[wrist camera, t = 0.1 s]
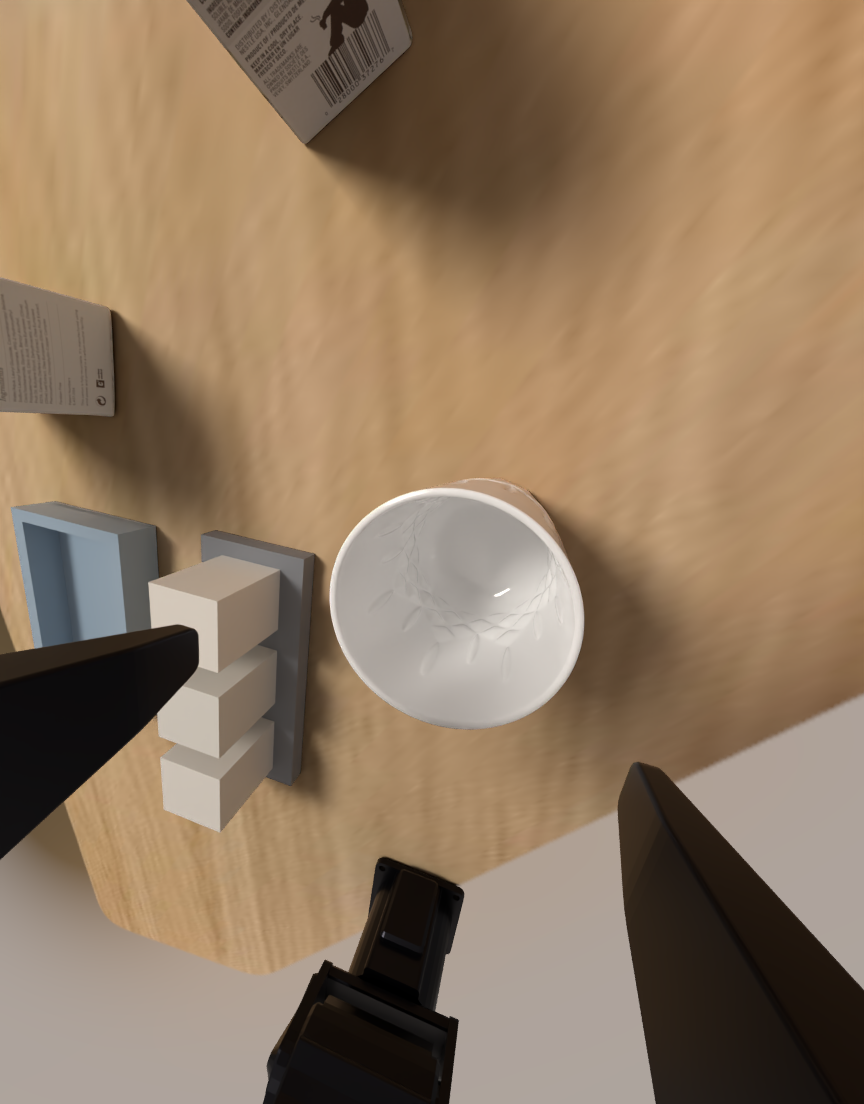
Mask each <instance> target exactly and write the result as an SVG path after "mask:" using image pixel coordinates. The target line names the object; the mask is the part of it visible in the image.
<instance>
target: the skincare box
mask: <svg viewBox="0 0 864 1104" xmlns="http://www.w3.org/2000/svg"><path fill="white" fill-rule="evenodd" d="M114 408H115V397H114V362H113V342H112V322H111V312H110V310H109V308H108V307H106V306H102V305H99V304H95V303H91V302H88V301H84V300H81V299H77V298H74V297H70V296H67V295H63V294H60V293H56V292H52V291H49V290H45V289H41V288H38V287H34V286H31V285H27V284H23V283H20V282H16V281H12V280H9V279H5V278H1V277H0V412H21V413H48V414H74V415H96V416H110V417H111V416H114Z"/></svg>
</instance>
